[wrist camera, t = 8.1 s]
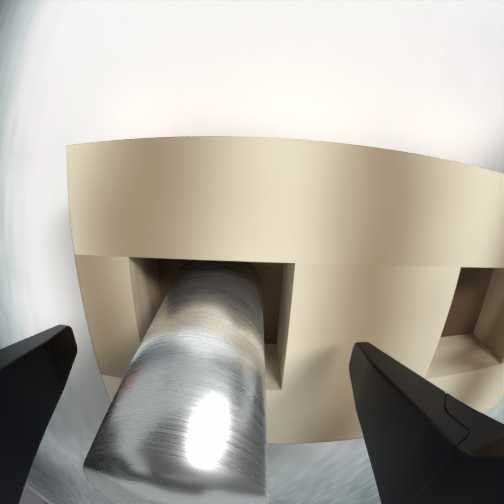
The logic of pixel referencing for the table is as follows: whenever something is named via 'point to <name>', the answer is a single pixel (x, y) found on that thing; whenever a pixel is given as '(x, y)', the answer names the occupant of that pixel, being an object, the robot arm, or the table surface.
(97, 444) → the pin
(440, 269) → the bore block
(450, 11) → the table surface
